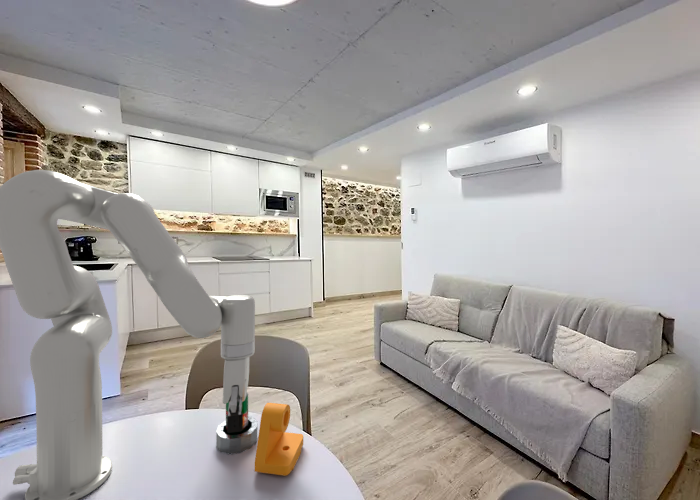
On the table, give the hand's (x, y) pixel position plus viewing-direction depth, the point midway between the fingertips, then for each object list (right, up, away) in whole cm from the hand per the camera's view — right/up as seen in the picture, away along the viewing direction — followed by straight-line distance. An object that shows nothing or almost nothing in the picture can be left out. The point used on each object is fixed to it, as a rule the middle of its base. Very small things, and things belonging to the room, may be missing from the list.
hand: (237, 419), depth 74 cm
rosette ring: (0, -5, 0) cm, 5 cm away
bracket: (+12, -6, -6) cm, 14 cm away
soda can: (0, -6, 0) cm, 6 cm away
